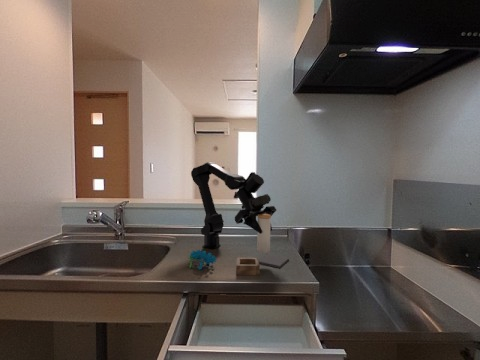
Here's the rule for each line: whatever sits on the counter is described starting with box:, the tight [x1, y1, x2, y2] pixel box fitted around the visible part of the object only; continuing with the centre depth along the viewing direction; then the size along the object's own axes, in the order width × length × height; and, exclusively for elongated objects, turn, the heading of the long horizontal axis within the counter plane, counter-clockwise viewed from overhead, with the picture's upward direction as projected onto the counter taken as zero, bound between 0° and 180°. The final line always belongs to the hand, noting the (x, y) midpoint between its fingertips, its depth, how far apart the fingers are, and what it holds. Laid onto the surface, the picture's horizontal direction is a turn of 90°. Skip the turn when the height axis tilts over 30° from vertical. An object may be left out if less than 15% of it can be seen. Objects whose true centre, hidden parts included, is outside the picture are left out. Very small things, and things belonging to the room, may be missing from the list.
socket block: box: [235, 257, 260, 276], centre depth 103 cm, size 8×8×4 cm
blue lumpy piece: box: [187, 249, 217, 271], centre depth 105 cm, size 11×6×10 cm
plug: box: [256, 214, 272, 253], centre depth 108 cm, size 5×5×14 cm
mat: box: [258, 253, 290, 269], centre depth 113 cm, size 10×10×1 cm
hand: (266, 231), depth 107 cm, fingers closed on plug, 5 cm apart
